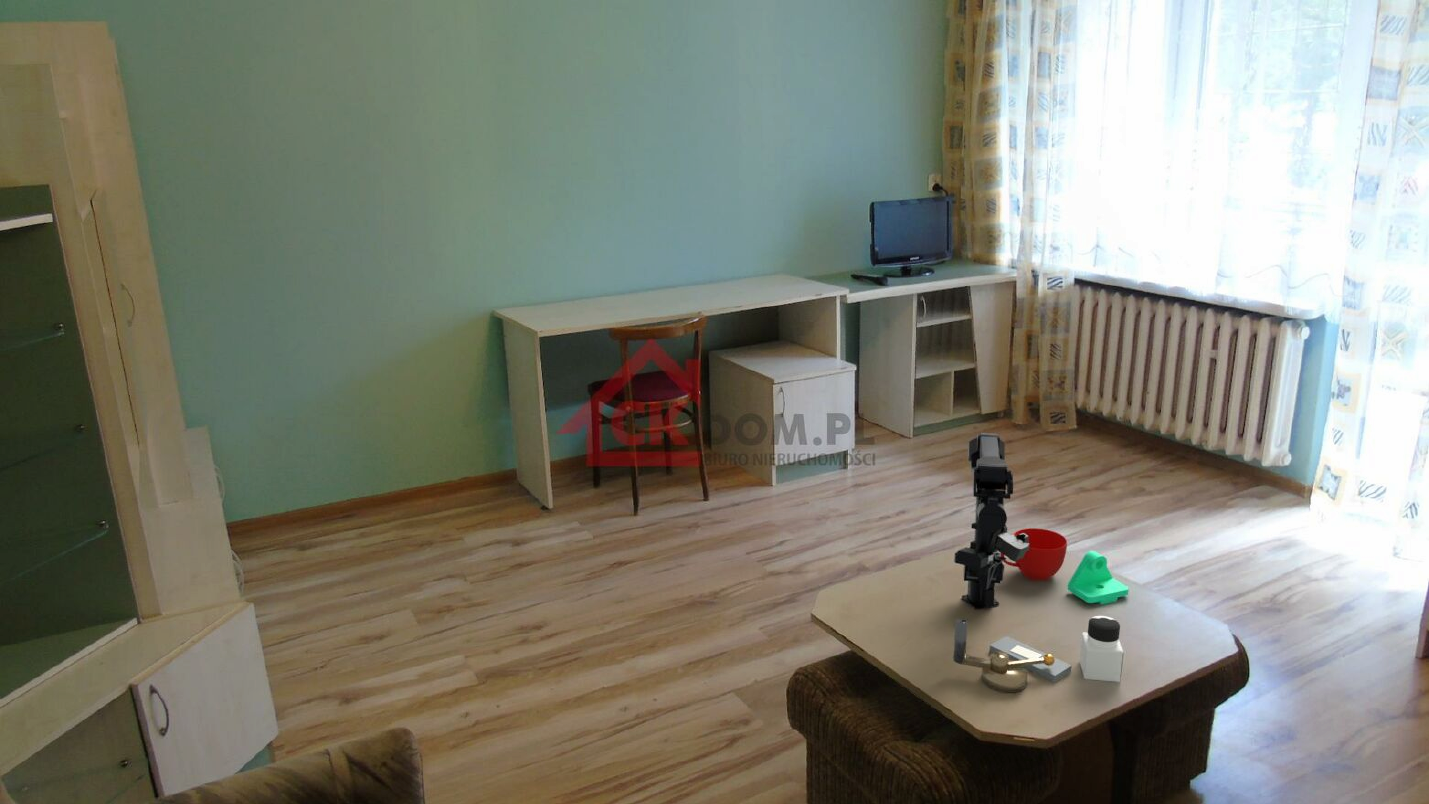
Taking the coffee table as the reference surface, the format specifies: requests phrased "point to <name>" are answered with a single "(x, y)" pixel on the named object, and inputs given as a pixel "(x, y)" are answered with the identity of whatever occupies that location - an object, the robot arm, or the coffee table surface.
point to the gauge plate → (1025, 652)
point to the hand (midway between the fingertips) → (984, 589)
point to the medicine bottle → (1101, 650)
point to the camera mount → (1095, 581)
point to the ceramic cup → (1041, 554)
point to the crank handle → (995, 664)
